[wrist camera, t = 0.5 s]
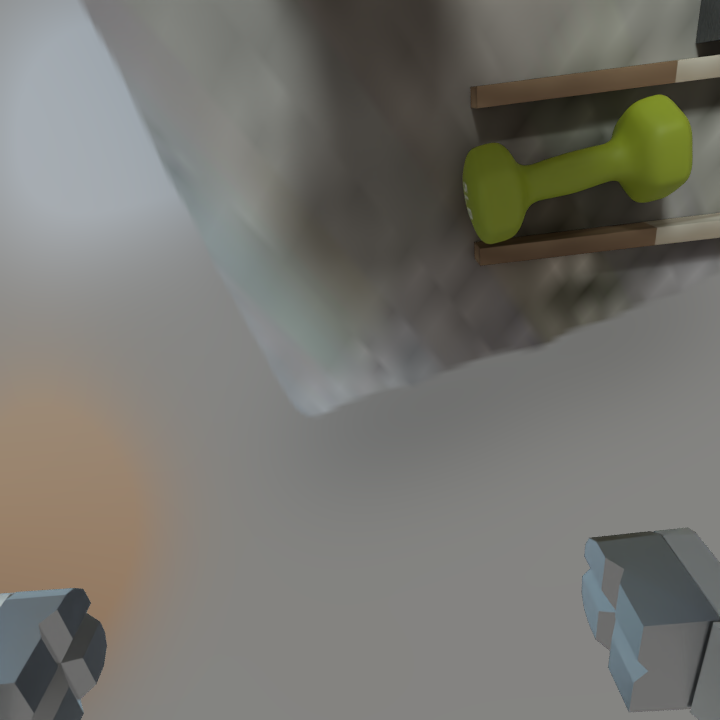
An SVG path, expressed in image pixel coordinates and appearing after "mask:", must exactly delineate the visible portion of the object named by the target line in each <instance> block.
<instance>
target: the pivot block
mask: <svg viewBox="0 0 720 720" xmlns="http://www.w3.org/2000/svg"><path fill="white" fill-rule="evenodd" d="M717 40H720V0H702V1H701V8H700V16H699V23H698V30H697V38H696V43H702V42H709V41H717Z"/></svg>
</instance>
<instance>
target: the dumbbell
mask: <svg viewBox="0 0 720 720" xmlns="http://www.w3.org/2000/svg"><path fill="white" fill-rule="evenodd" d="M691 169H692V130H691V126H690V123H689V121H688V119H687V117H686V116H685V114H684V113H683V112H682V111H681V110H680V109H679V107H678V106H677V105H676V104H675V103H674V102H673V101H672V100H671V99H670V98H668V97H667V96H664V95H661V94H659V95H654V96H650V97H647V98H644V99H641V100H639V101H637V102H635V103H634V104H632V105H631V106H630V107H629V108H628V109H627V110H626V111H625V112H624V114H623V115H622V116H621V117H620V119H619V120H618V122H617V124H616V125H615V128H614V130H613V134H612V139H611V140H610V141H609V142H607V143H605V144H602V145H598V146H593V147H588V148H584V149H580V150H576V151H572V152H569V153H565V154H562V155H559V156H556V157H552V158H549V159H546V160H543V161H540V162H538V163H535V164H532V165H520V164H518V163H517V162H516V161H515V160H514V158H513V157H512V155H511V154H510V152H509V151H508V150H507V149H506V148H505V147H504V146H502V145H501V144H499V143H488V144H484V145H481V146H477V147H475V148H473V149H471V150H470V151H469V153H468V154H467V156H466V160H465V164H464V169H463V191H464V197H465V202H466V207H467V210H468V214H469V217H470V219H471V222H472V224H473V227H474V229H475V231H476V233H477V235H478V236H479V238H480V239H481V240H482V241H483V242H485V243H487V244H494V243H498V242H502V241H505V240H508V239H510V238H512V237H513V236H514V235H515V234H516V233H517V232H518V231H519V229H520V227H521V225H522V222H523V220H524V217H525V213H526V211H527V209H528V208H529V206H530V205H532V204H533V203H535V202H537V201H540V200H544V199H549V198H554V197H559V196H563V195H568V194H572V193H576V192H579V191H582V190H585V189H588V188H591V187H594V186H597V185H599V184H602V183H605V182H609V181H618V182H619V183H620V185H621V186H622V188H623V189H624V191H625V192H626V193H627V195H628V196H629V197H630V198H631V199H632V200H634V201H636V202H640V203H644V202H650V201H654V200H658V199H662V198H664V197H666V196H668V195H670V194H671V193H673V192H674V191H675V190H677V189H678V188H679V187H680V186H682V185H683V184H684V183H685V182H686V180H687V179H688V178H689V176H690V173H691Z"/></svg>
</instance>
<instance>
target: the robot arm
mask: <svg viewBox="0 0 720 720" xmlns="http://www.w3.org/2000/svg"><path fill="white" fill-rule="evenodd" d="M584 556H585V558H586V560H587V562H588V564H589V566H590V569H589V570H588V571H587V572H586V574H584V575H583V576H582V598H583V604H584V610H585V613H586V616H587V619H588V622H589V625H590V628H591V630H592V632H593V634H594V637H595V639H596V640H597V641H598V642H600V643H601V644H602V645H603V646H605V647H606V648H607V649H609V650H610V657H609V665H608V668H609V670H610V672H611V674H612V677H613V679H614V681H615V683H616V685H617V687H618V690H619V692H620V694H621V696H622V698H623V700H624V702H625V705H626V707H627V709H628V711H629V712H642V711H659V710H679V709H691V710H690V712H691V714H692V715H694V716H695V717H696V718H697V719H698V720H720V562H719V561H718V560H717V558H716V557H715V556H714V555H713V553H712V552H711V551H710V550H709V548H708V547H707V546H706V545H705V544H704V542H703V541H702V540H701V538H700V537H699V536H698V535H697V534H696V532H694V531H693V530H691V529H689V528H679V529H670V530H660V531H654V532H650V531H648V532H639V533H630V534H620V535H611V536H602V537H592V538H589V539H588V541H587V542H586V546H585V554H584ZM90 604H91V602H90V600H89V598H88V597H87V595H86V593H85V591H84V590H83V589H79V588H69V589H54V590H40V591H26V592H16V593H4V594H0V720H81V718H82V716H83V714H84V712H83V708H82V704H81V698H82V697H83V696H84V695H85V694H86V693H87V692H89V690H91V689H92V688H93V687H94V686H95V685H96V684H97V681H98V679H99V676H100V674H101V671H102V669H103V667H104V661H105V655H106V648H107V644H106V636H105V631H104V629H103V627H102V625H101V623H100V621H98V620H97V619H95V618H94V617H92V616H90V615H89V614H87V610H88V608H89V606H90Z"/></svg>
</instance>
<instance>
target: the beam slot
mask: <svg viewBox="0 0 720 720" xmlns="http://www.w3.org/2000/svg"><path fill="white" fill-rule="evenodd" d="M715 77H720V55H713V56H705V57H697V58H690V59H682V60H674V61H667V62H659V63H652V64H644V65H636V66H629V67H621V68H613V69H606V70H598V71H590V72H583V73H575V74H568V75H560V76H552V77H545V78H537V79H529V80H522V81H514V82H506V83H499V84H491V85H484V86H476V87H470V89H471V108H484V107H491V106H499V105H507V104H515V103H522V102H530V101H538V100H545V99H553V98H561V97H569V96H576V95H584V94H592V93H600V92H607V91H615V90H623V89H630V88H638V87H646V86H654V85H661V84H669V83H677V82H685V81H692V80H700V79H708V78H715ZM711 238H720V213H713V214H705V215H697V216H688V217H680V218H671V219H663V220H655V221H646V222H638V223H630V224H621V225H613V226H605V227H596V228H588V229H580V230H571V231H563V232H555V233H546V234H538V235H530V236H521V237H513V238H510V239H508V240H505V241H502V242H498V243H494V244H487V243H485V242H483V241H480V242H474V254H475V260H476V261H477V262H478V263H479V265H480V266H483V265H491V264H500V263H508V262H516V261H525V260H533V259H542V258H550V257H559V256H567V255H576V254H584V253H593V252H601V251H610V250H618V249H627V248H635V247H644V246H652V245H660V244H669V243H677V242H686V241H694V240H703V239H711Z"/></svg>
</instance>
